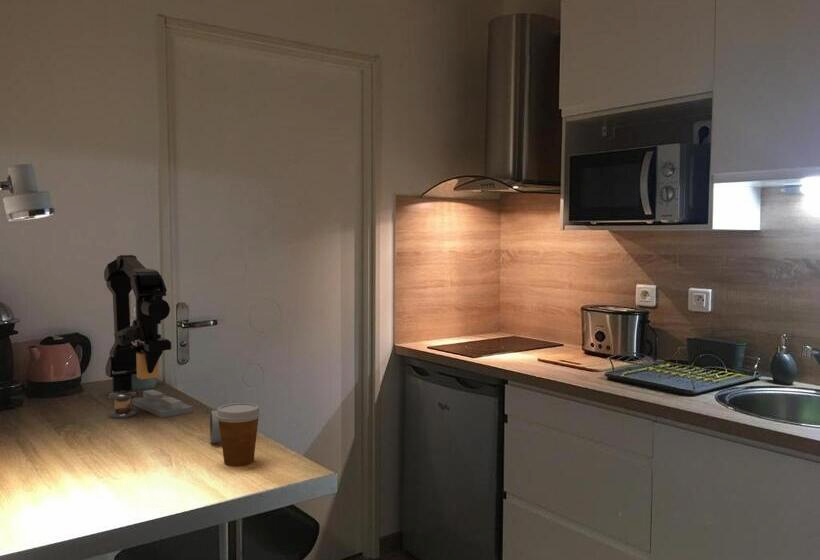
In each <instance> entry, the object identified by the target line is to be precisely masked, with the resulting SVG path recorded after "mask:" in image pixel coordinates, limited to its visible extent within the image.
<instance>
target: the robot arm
mask: <svg viewBox="0 0 820 560" xmlns="http://www.w3.org/2000/svg"><path fill="white" fill-rule="evenodd" d="M103 277H104V281H105V282H106V284H105V285H106V287H107V289H108V290H109V292H110V293H111V295H112V307H113V308H112V309H113V310H112V311H113V329H114V333H113V335H114V343H113V344H112V346H111V349H110V350H109V357H107V358H108V359H107V361H106V365H105V369H104V370H105V376H107V377H108V378H112V381H111V382H112V383H111V385H112V386H111V387H112V391H109V392H108V395H109V393H111V392H115V391H124V390H130V391H134V389H133V385H132V374H137V363H136V353H138V352H143V353H144V354H145V357H146V364H147V370H148V373H152V372H153V370H154V368H155V366H156V364H157V362H158V360H160V358H161V356H162V354H163V353H164V351H170V350H172V341H170V340H169V339H167V338H164V337H162V335H161V333H159V324H162V321H163V320H165V319H166V318H167V317H168V316H169V315H170V311H171V307H170V305H169V303H168V302H167V301H166V300H165V299H163V297H166V296H167V291H168V290H167V287H166V284H165V281H164V279H163V276H162V275H161V274H160V272H159V271H158V270H155V269H153V268H152V269H150V268H147V267H145V265H143V264H142V263H141V262H140V261H139V260H138V258H137V256H136V255H134V254H119V255H118V256H117V257H116V259H114V260H112V261H111V262H109V263H107V264H106V267H105V269H104V271H103ZM131 292H133V295H134V296H135V319H133V321H132V325H131V310H130V293H131ZM137 394H138V392H136V395H137Z"/></svg>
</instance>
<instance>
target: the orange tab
mask: <svg viewBox="0 0 820 560" xmlns="http://www.w3.org/2000/svg"><path fill="white" fill-rule="evenodd" d="M159 360H160V359H159ZM159 360H158V362H157V364H156V366H155V368H154V370H153V372H152V373H148V370H147V364H146V357H145V354H144V353H143V352H138V353H136V363H137V378H139V379H148V378H155V377H157V378H159V377H160V376H159V375H160V374H159V373H160V371H159V370H160V365H159Z"/></svg>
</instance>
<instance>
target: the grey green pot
mask: <svg viewBox="0 0 820 560" xmlns="http://www.w3.org/2000/svg"><path fill="white" fill-rule="evenodd" d="M157 378H158V377H155V378H148V379H139V378H137V374H132V385H133V390H147V389H148V390H150V389H153V388H156V387H157V380H158V379H157Z"/></svg>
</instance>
